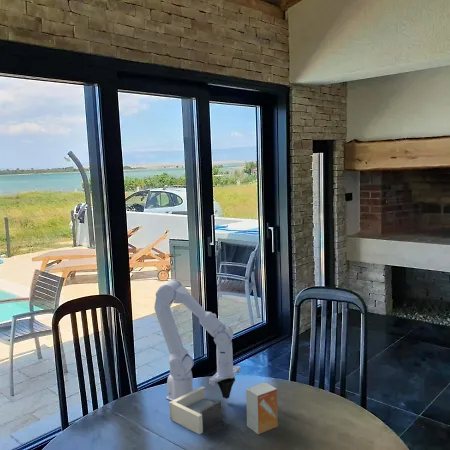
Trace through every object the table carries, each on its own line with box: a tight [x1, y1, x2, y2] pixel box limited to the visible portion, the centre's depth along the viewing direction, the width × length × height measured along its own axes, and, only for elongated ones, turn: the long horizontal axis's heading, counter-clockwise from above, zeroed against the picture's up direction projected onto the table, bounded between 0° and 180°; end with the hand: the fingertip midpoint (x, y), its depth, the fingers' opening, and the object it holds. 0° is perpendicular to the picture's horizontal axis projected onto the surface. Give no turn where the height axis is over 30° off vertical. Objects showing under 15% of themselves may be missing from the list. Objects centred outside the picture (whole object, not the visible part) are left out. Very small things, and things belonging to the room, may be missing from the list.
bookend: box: [200, 400, 229, 436], centre depth 151 cm, size 4×9×7 cm, turn 137°
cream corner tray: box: [168, 385, 206, 435], centre depth 157 cm, size 14×15×6 cm
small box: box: [245, 381, 279, 435], centre depth 150 cm, size 8×6×13 cm
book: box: [187, 397, 223, 413], centre depth 159 cm, size 9×12×3 cm
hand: (226, 397), depth 167 cm, fingers closed
